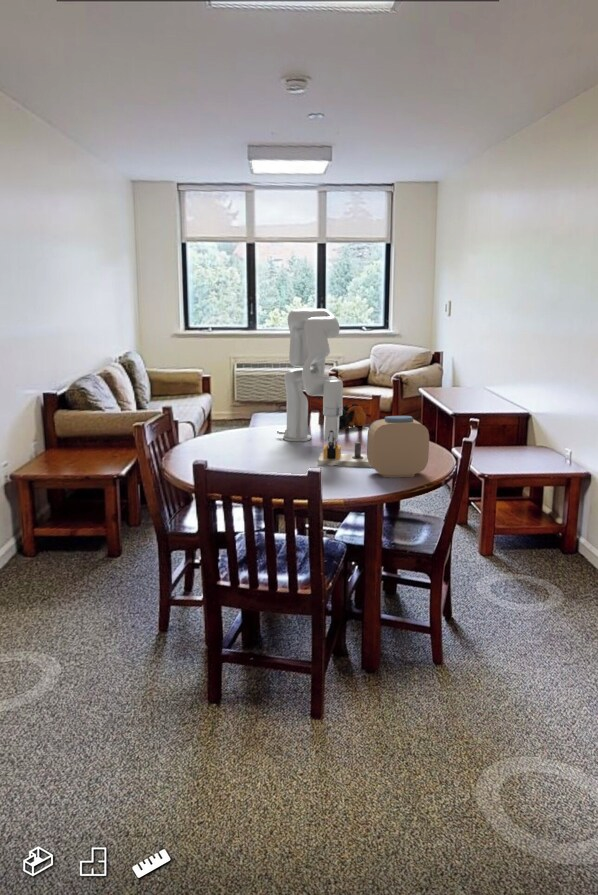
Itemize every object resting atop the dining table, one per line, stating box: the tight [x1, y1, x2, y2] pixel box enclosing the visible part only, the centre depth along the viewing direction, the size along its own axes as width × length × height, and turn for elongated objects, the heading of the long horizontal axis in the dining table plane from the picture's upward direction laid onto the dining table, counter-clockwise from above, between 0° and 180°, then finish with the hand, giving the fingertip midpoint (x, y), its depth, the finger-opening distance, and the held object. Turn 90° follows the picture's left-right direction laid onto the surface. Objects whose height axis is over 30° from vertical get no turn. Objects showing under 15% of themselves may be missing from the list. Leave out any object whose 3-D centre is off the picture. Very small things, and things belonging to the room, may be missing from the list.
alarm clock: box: [366, 415, 430, 478], centre depth 250 cm, size 21×10×22 cm, turn 98°
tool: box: [339, 403, 367, 431], centre depth 331 cm, size 8×23×15 cm, turn 132°
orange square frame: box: [322, 444, 342, 459], centre depth 269 cm, size 6×6×4 cm
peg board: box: [317, 441, 373, 468], centre depth 268 cm, size 22×12×8 cm, turn 83°
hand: (332, 455), depth 269 cm, fingers closed on orange square frame, 6 cm apart
